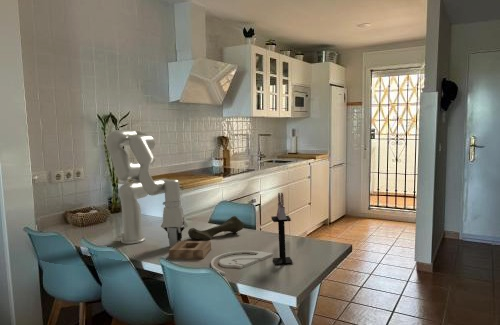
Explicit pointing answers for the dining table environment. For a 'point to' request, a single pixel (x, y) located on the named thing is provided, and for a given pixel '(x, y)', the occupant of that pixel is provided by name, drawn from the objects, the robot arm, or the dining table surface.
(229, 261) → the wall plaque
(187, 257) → the well block
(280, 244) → the black pedestal stand
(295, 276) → the dining table surface
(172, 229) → the grey rectangular prism
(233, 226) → the bone
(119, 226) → the dining table surface
